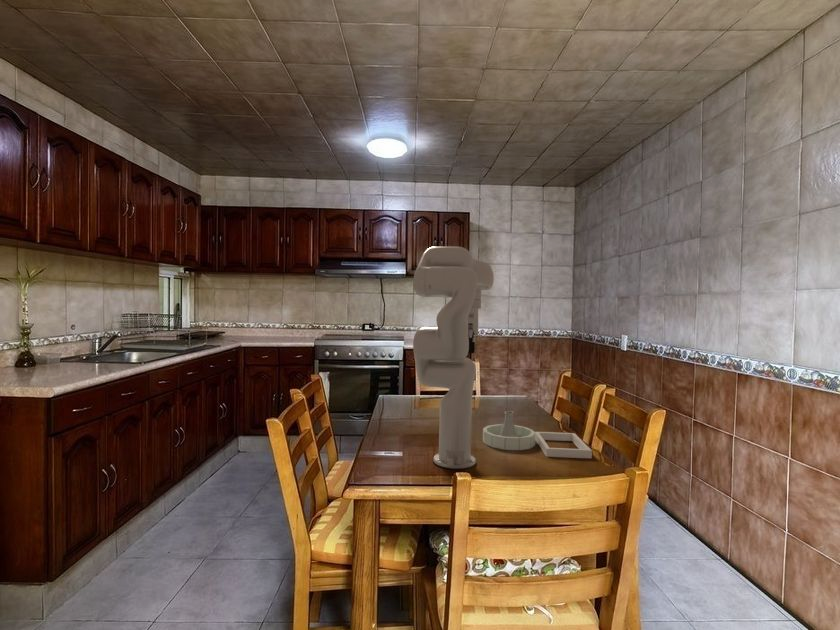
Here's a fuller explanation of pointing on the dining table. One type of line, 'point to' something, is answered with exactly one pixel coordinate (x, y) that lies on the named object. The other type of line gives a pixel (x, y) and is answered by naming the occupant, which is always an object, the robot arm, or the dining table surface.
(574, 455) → the light grey rectangular frame
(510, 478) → the dining table surface
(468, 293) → the robot arm
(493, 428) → the bowl
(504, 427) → the flask
